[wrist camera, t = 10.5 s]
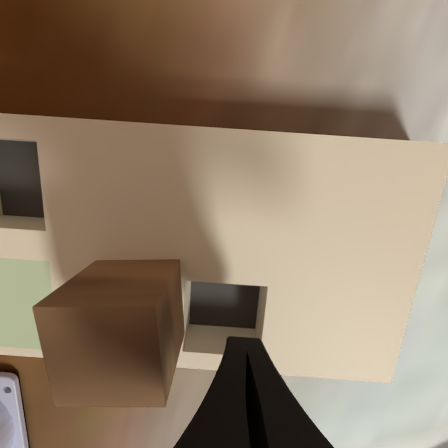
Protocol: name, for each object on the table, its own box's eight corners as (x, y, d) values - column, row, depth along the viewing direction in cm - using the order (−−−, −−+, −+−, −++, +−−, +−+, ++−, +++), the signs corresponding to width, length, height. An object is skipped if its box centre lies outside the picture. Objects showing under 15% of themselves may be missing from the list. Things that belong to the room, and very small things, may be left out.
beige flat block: (366, 348, 16) (404, 400, 12) (1, 322, 16) (-62, 366, 12) (413, 147, 13) (479, 141, 9) (-33, 117, 13) (-125, 101, 10)
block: (184, 333, 13) (165, 407, 9) (106, 333, 13) (54, 406, 9) (179, 259, 12) (155, 306, 8) (95, 260, 12) (31, 306, 8)
